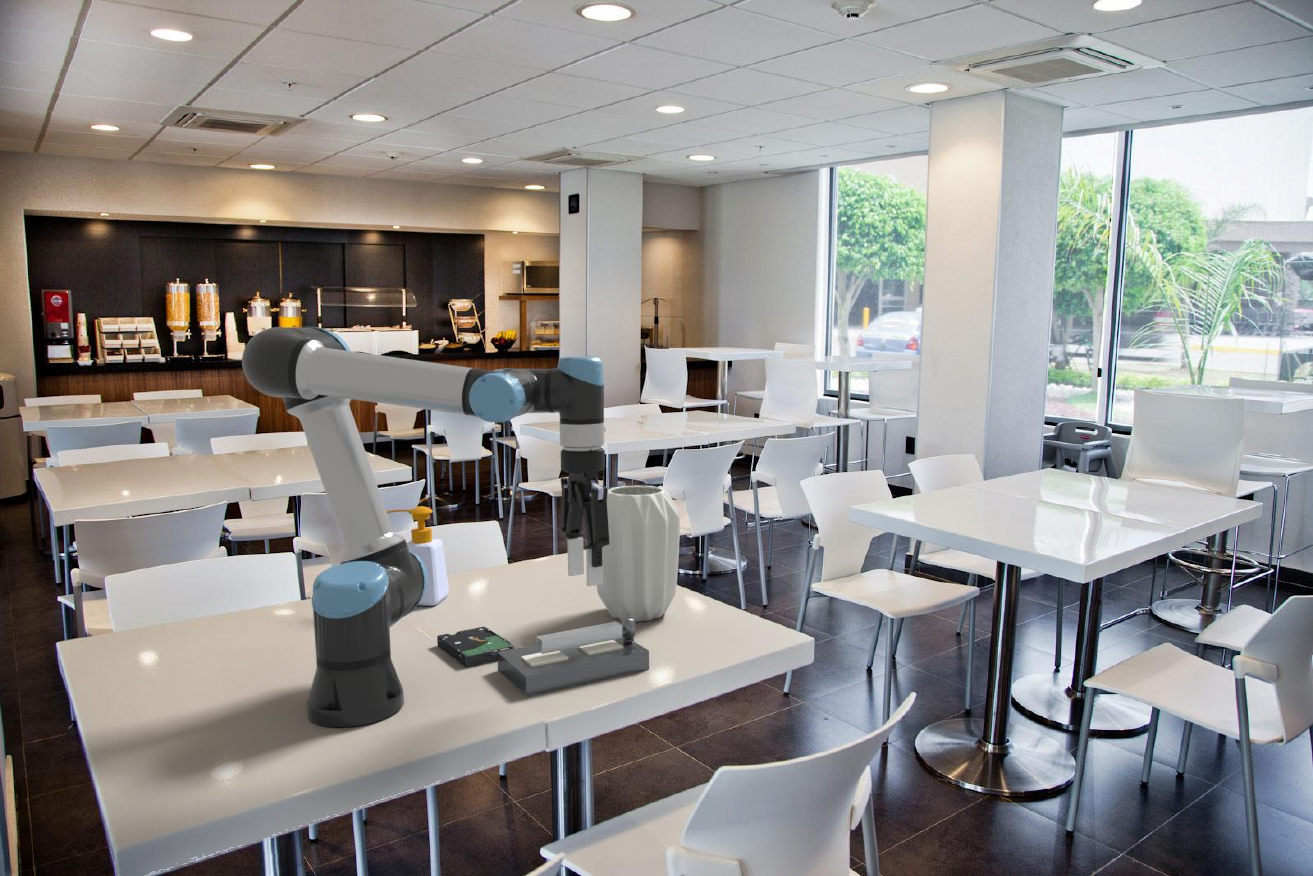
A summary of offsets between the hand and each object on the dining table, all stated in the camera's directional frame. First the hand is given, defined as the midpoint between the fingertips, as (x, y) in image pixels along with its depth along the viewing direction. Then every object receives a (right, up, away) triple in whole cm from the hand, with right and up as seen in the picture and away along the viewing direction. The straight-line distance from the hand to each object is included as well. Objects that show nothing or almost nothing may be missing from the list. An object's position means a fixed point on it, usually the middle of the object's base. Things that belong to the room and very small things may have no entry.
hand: (585, 579), depth 157 cm
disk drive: (-23, -18, +20) cm, 35 cm away
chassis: (-3, -18, +10) cm, 21 cm away
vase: (+8, -14, +42) cm, 45 cm away
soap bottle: (-44, -14, +54) cm, 71 cm away
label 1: (-8, -15, +5) cm, 18 cm away
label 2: (+2, -14, +11) cm, 18 cm away
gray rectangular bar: (0, -13, +9) cm, 16 cm away
